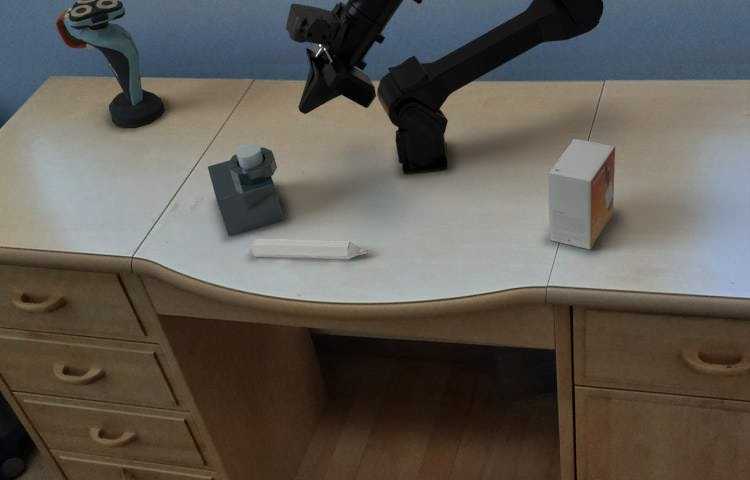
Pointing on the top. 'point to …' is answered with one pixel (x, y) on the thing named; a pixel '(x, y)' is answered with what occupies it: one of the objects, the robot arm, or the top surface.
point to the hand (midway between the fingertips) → (301, 111)
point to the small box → (581, 193)
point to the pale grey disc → (249, 156)
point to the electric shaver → (113, 58)
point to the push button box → (246, 194)
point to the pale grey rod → (306, 249)
